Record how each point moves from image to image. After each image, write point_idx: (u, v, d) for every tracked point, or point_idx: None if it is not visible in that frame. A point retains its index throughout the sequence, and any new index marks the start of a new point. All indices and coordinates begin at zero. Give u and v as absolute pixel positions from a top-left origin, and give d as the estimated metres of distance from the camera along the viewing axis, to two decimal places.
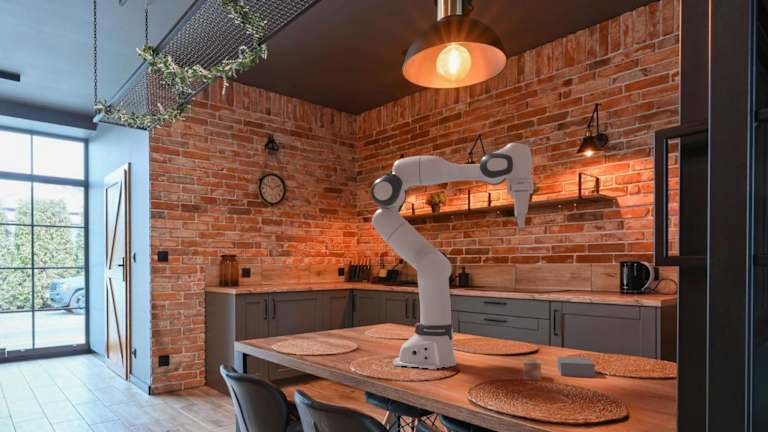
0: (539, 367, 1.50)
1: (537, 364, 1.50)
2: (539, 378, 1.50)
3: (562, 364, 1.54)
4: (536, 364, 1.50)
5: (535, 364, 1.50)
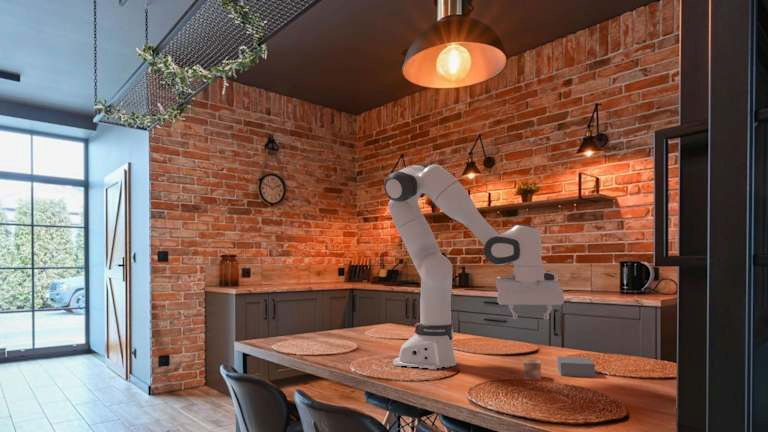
0: (539, 367, 1.50)
1: (537, 364, 1.50)
2: (539, 378, 1.50)
3: (562, 364, 1.54)
4: (536, 364, 1.50)
5: (535, 364, 1.50)
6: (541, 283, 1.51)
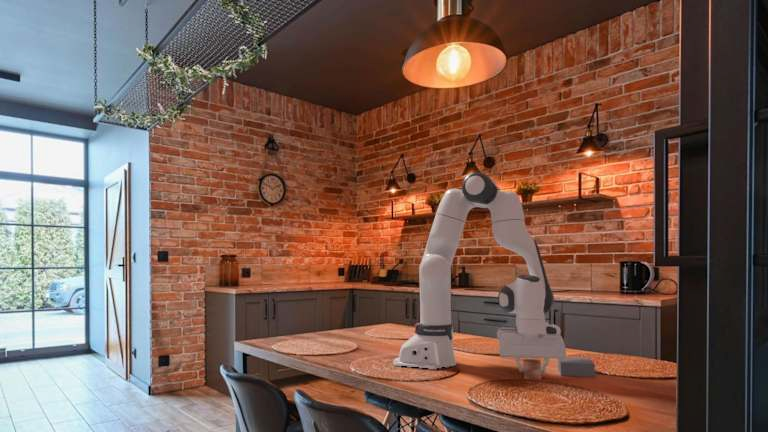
0: (539, 367, 1.50)
1: (537, 364, 1.50)
2: (539, 378, 1.50)
3: (562, 364, 1.54)
4: (536, 364, 1.50)
5: (535, 364, 1.50)
6: (543, 336, 1.50)
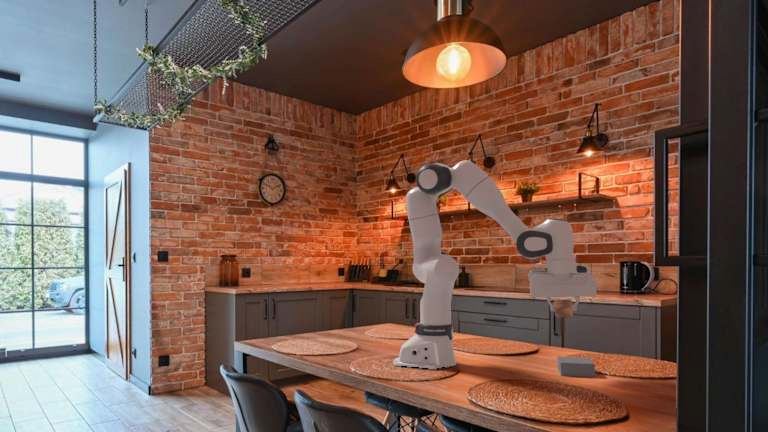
0: (570, 305, 1.55)
1: (568, 302, 1.55)
2: (571, 315, 1.54)
3: (562, 364, 1.54)
4: (567, 302, 1.55)
5: (566, 302, 1.55)
6: (574, 275, 1.55)
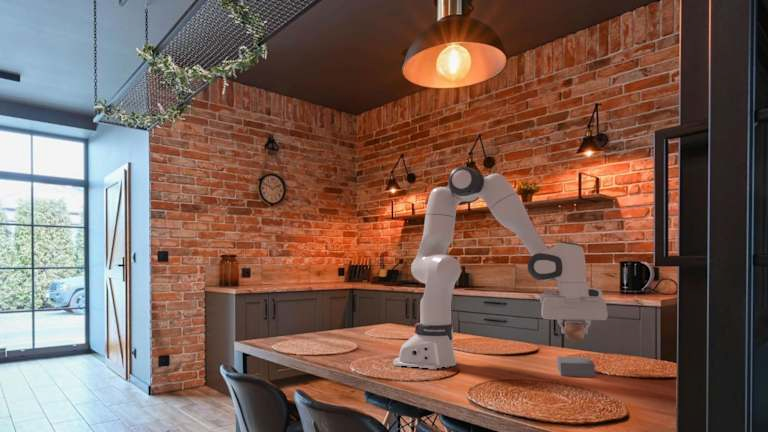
0: (582, 328, 1.56)
1: (580, 325, 1.57)
2: (582, 338, 1.56)
3: (562, 364, 1.54)
4: (579, 325, 1.57)
5: (578, 325, 1.57)
6: (585, 299, 1.57)
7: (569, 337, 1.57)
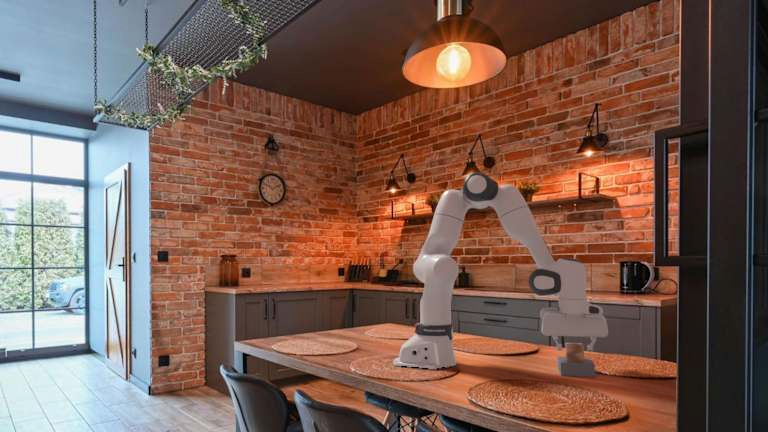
0: (582, 349, 1.56)
1: (580, 347, 1.56)
2: (582, 360, 1.55)
3: (562, 364, 1.54)
4: (579, 347, 1.56)
5: (578, 347, 1.56)
6: (586, 316, 1.56)
7: (569, 359, 1.56)
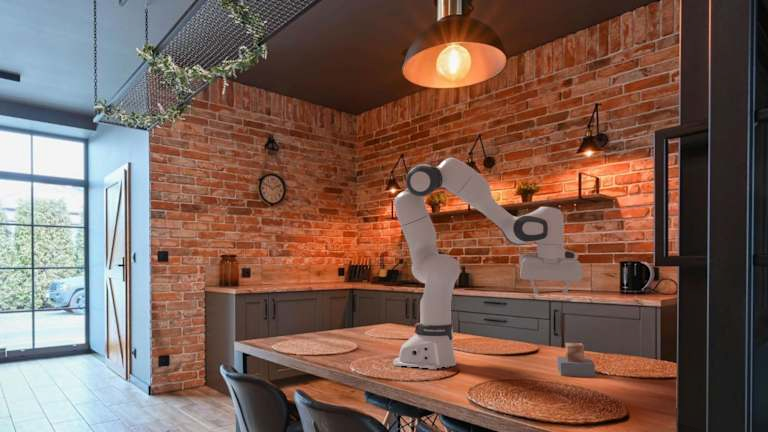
0: (582, 349, 1.56)
1: (580, 347, 1.56)
2: (582, 360, 1.55)
3: (562, 364, 1.54)
4: (579, 347, 1.56)
5: (578, 347, 1.56)
6: (562, 260, 1.64)
7: (569, 359, 1.56)
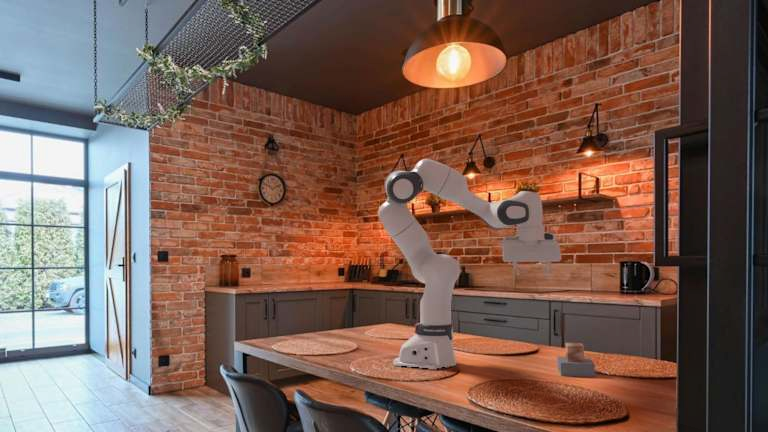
0: (582, 349, 1.56)
1: (580, 347, 1.56)
2: (582, 360, 1.55)
3: (562, 364, 1.54)
4: (579, 347, 1.56)
5: (578, 347, 1.56)
6: (541, 242, 1.72)
7: (569, 359, 1.56)
